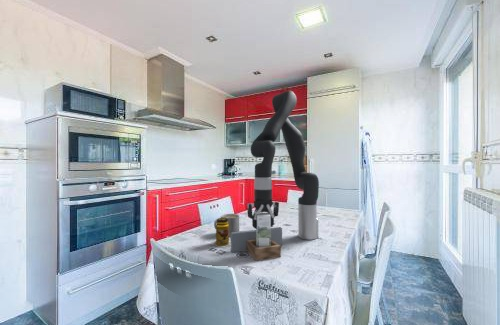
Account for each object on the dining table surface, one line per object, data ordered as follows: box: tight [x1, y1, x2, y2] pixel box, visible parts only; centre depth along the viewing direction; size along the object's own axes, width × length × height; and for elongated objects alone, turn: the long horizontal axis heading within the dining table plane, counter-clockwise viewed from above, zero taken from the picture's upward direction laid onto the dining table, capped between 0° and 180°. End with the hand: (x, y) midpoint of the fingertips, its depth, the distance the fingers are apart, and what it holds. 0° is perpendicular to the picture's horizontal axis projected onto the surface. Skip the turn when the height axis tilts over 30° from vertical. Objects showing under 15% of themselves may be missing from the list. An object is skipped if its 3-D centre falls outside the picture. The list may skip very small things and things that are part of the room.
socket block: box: [246, 239, 282, 262], centre depth 95 cm, size 11×11×4 cm
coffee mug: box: [213, 213, 240, 238], centre depth 121 cm, size 13×10×10 cm
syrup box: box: [255, 212, 272, 248], centre depth 95 cm, size 6×6×14 cm
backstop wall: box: [230, 226, 283, 253], centre depth 101 cm, size 24×2×8 cm, turn 110°
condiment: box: [210, 217, 231, 248], centre depth 107 cm, size 7×8×12 cm
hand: (263, 227), depth 95 cm, fingers closed on syrup box, 6 cm apart
